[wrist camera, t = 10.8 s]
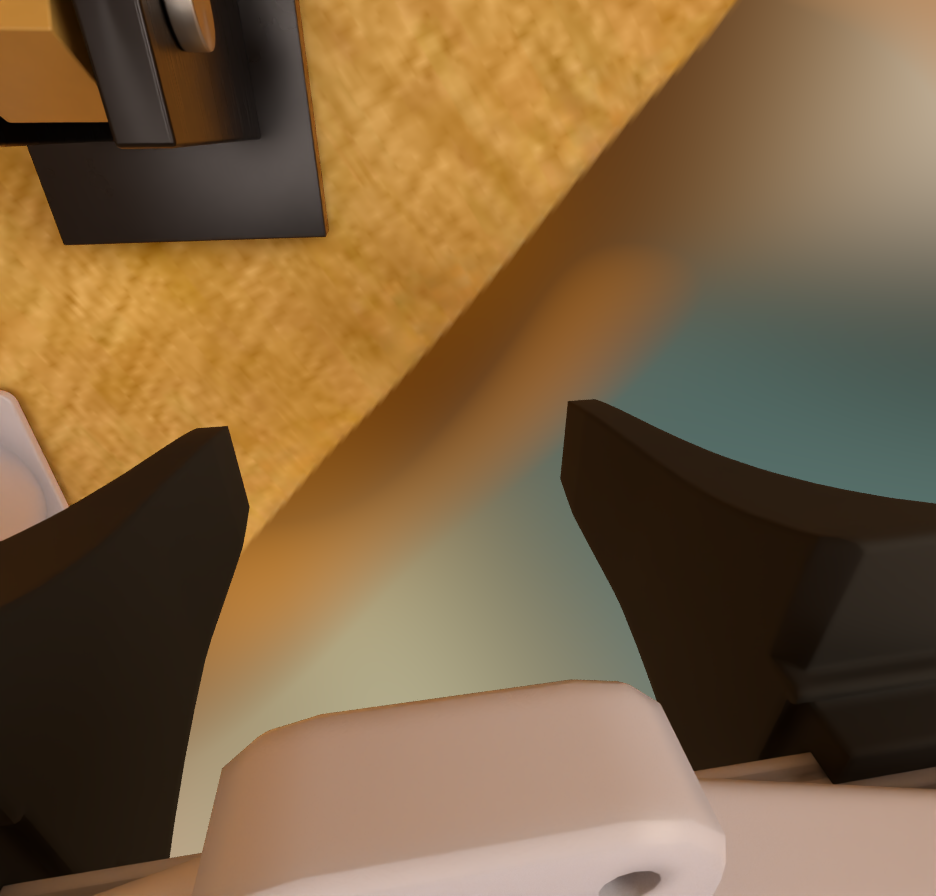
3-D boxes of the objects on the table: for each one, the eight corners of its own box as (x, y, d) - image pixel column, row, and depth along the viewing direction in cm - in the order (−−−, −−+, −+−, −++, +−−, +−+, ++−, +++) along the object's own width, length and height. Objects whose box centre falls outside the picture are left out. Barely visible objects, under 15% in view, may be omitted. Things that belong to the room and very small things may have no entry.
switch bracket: (-80, -214, 13) (-854, -796, 5) (273, -192, 14) (131, -639, 6) (81, 238, 18) (-156, 328, 10) (329, 231, 19) (295, 306, 11)
